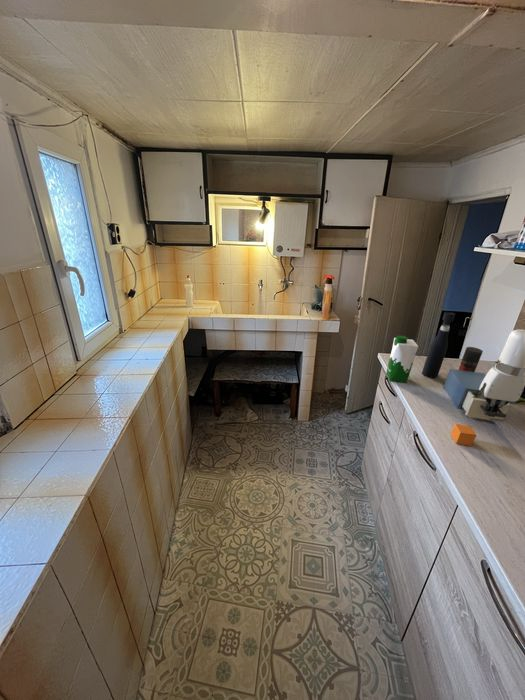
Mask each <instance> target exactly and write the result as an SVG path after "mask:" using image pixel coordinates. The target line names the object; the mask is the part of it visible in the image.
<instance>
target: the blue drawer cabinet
mask: <svg viewBox="0 0 525 700" xmlns="http://www.w3.org/2000/svg"><path fill="white" fill-rule="evenodd" d="M446 376H447V377H446V379H445V382H444V385H443V389H444V391H445V393H447V395H448V396H449V398H450V399H451V401H452V402H453V404H454V405H455V407H456V409H459V410H464V408H463V407H462V405H461V404H462V402H463V399H464V397H465V394H466V392H467V390H468V391H475V392H481V391H480V390H479V387H480V385H481V383H482V381H483V379H484V378H485V376H486V374H485V373H484V372H478V371H475V372H471V371H463V370H458V369H454V368H449V371H448V374H447V375H446Z"/></svg>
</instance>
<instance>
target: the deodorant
mask: <svg viewBox="0 0 525 700" xmlns="http://www.w3.org/2000/svg"><path fill="white" fill-rule="evenodd" d="M483 352H484V350H482V349H480V348H479V347H474V346H467V347H466V348H465V350H464V353H463V356H462V358H461V361H460V363H459V366H458V369H457V370H463V371H471V372H476V370H477V367H478V364H479V362H480V359H481V357H482V355H483Z"/></svg>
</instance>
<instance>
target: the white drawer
mask: <svg viewBox="0 0 525 700" xmlns="http://www.w3.org/2000/svg"><path fill="white" fill-rule="evenodd" d="M479 393H480V392H475V391H468V390H467V392H466V394H465V397H464V399H463V402H462V404H461V405H462V407H463V408H464V409H463V411H465V414H464V415H465V416H466V417H468V418H469V417H470V418H476V419H483V420H489V421H493V419H494V420H500V421H504V419H506V418H507V413H508V410H509V408H510V407H511V404H509V403H508V404H506V405H503V407H502V408H499V410H498V412H491V411H486V409H485V408H486V406H487V404H488V402H487V401H486V400H483V399H481V398H479V396H478V395H479ZM488 415H489V416H488ZM490 416H491V417H490ZM492 416H495V417H492Z"/></svg>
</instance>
